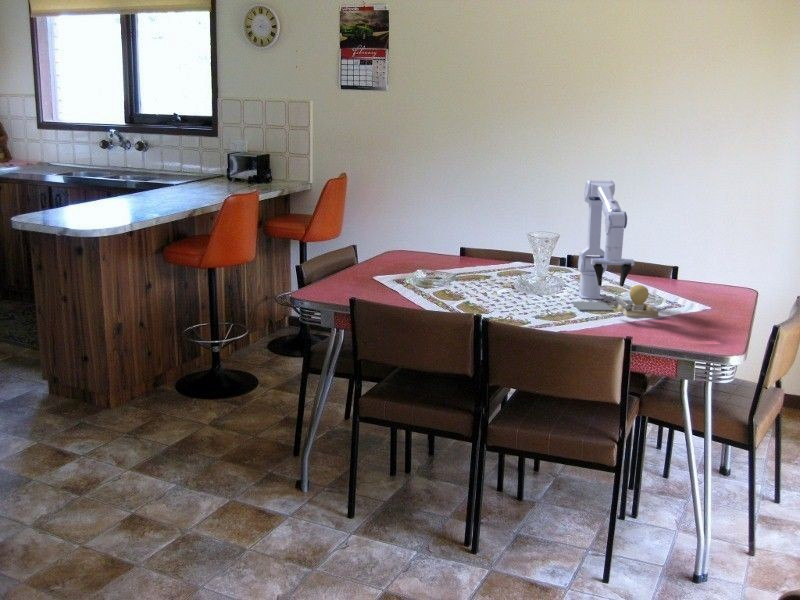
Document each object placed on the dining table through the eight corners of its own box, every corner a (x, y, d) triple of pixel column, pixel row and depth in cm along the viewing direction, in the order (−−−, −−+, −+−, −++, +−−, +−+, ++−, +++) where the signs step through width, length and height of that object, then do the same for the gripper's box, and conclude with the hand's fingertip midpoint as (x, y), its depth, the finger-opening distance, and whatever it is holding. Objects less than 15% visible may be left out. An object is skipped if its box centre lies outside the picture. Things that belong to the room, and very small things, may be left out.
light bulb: (650, 314, 296) (653, 286, 294) (637, 315, 293) (639, 287, 291) (637, 310, 302) (639, 282, 299) (624, 311, 299) (626, 284, 296)
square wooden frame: (617, 308, 303) (617, 303, 302) (647, 309, 303) (648, 303, 303) (626, 316, 292) (627, 310, 291) (657, 316, 292) (658, 311, 292)
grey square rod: (613, 300, 306) (614, 295, 306) (618, 300, 306) (619, 295, 306) (626, 310, 291) (626, 305, 291) (631, 310, 291) (631, 305, 291)
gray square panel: (571, 302, 310) (571, 301, 310) (604, 303, 311) (604, 302, 311) (579, 310, 299) (579, 309, 298) (613, 311, 299) (613, 309, 299)
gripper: (595, 248, 285) (592, 287, 288) (638, 249, 285) (634, 288, 288) (590, 244, 291) (587, 283, 295) (632, 245, 292) (628, 283, 295)
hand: (610, 285), depth 292 cm, fingers open, 7 cm apart
